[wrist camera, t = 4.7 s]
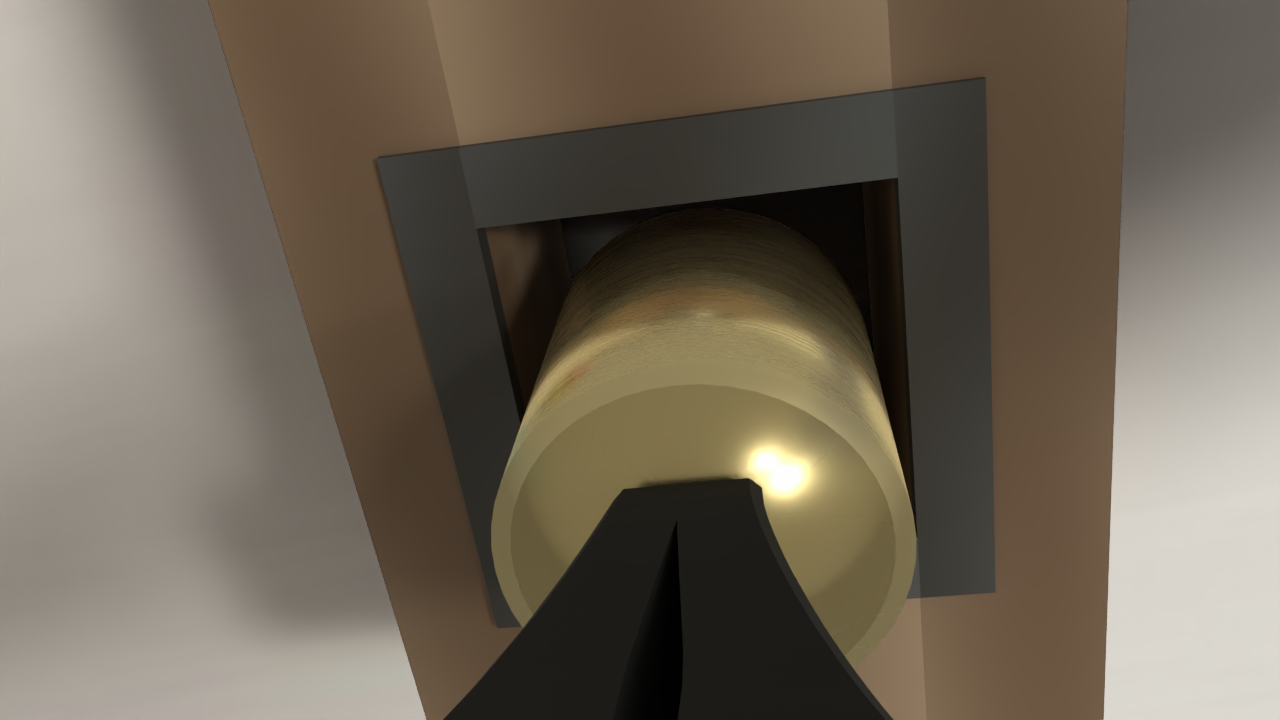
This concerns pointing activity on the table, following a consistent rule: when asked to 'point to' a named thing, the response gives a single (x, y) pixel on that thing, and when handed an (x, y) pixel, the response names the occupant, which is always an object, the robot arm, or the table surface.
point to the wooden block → (701, 171)
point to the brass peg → (715, 413)
